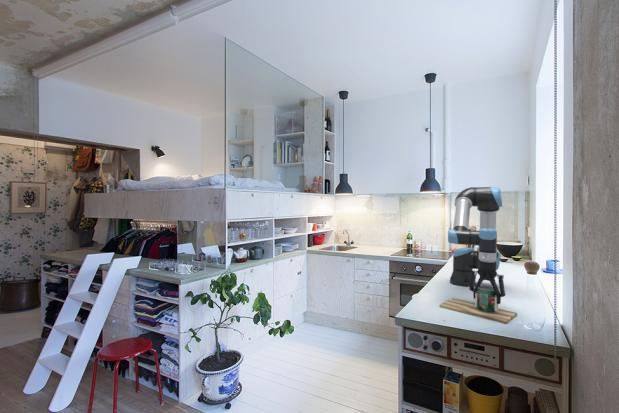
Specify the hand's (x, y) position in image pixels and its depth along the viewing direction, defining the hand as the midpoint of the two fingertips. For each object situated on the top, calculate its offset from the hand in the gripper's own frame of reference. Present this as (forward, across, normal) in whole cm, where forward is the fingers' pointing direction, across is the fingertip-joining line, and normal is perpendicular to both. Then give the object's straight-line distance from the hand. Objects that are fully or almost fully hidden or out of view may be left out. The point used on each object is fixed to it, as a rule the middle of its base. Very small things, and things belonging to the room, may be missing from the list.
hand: (486, 308), depth 152 cm
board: (+3, -4, 0) cm, 5 cm away
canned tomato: (+1, 0, 0) cm, 1 cm away
